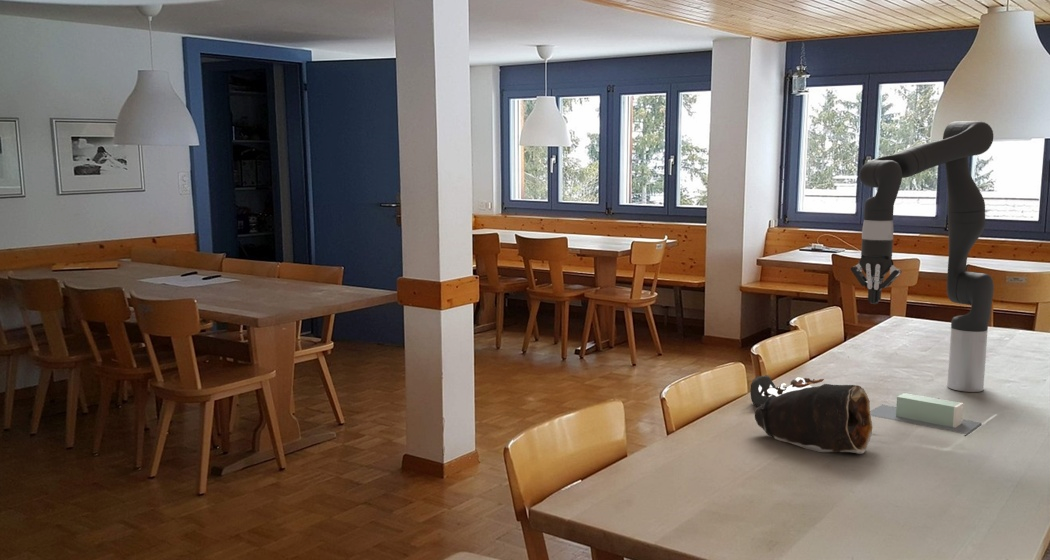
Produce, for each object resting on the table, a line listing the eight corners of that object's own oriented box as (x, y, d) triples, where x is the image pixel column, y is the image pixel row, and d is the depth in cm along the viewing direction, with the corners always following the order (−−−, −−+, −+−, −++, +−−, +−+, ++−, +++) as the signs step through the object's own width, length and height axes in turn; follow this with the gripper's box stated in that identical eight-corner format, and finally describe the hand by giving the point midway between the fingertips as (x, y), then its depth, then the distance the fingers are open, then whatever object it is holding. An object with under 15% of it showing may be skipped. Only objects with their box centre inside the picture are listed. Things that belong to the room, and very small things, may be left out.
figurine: (763, 372, 237) (827, 371, 225) (767, 407, 237) (831, 408, 225) (739, 379, 227) (804, 378, 215) (742, 415, 226) (808, 416, 214)
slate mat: (882, 406, 227) (882, 404, 227) (981, 425, 211) (981, 422, 211) (864, 416, 219) (864, 413, 219) (966, 436, 202) (966, 433, 202)
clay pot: (762, 377, 210) (865, 374, 194) (774, 437, 212) (878, 438, 196) (735, 398, 199) (843, 396, 183) (749, 460, 201) (856, 464, 184)
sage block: (904, 392, 220) (963, 403, 210) (903, 412, 220) (962, 423, 211) (897, 396, 216) (956, 407, 207) (895, 416, 217) (955, 427, 207)
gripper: (908, 238, 223) (905, 304, 226) (858, 235, 232) (854, 299, 234) (898, 240, 218) (894, 307, 220) (846, 237, 227) (843, 302, 229)
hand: (873, 303), depth 227 cm, fingers closed
